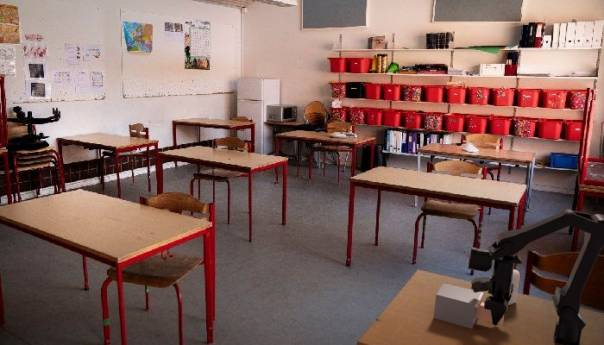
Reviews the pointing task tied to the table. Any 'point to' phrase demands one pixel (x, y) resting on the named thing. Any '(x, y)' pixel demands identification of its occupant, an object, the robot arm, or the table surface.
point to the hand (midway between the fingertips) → (496, 320)
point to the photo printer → (515, 287)
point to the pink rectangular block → (485, 314)
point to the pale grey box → (457, 305)
